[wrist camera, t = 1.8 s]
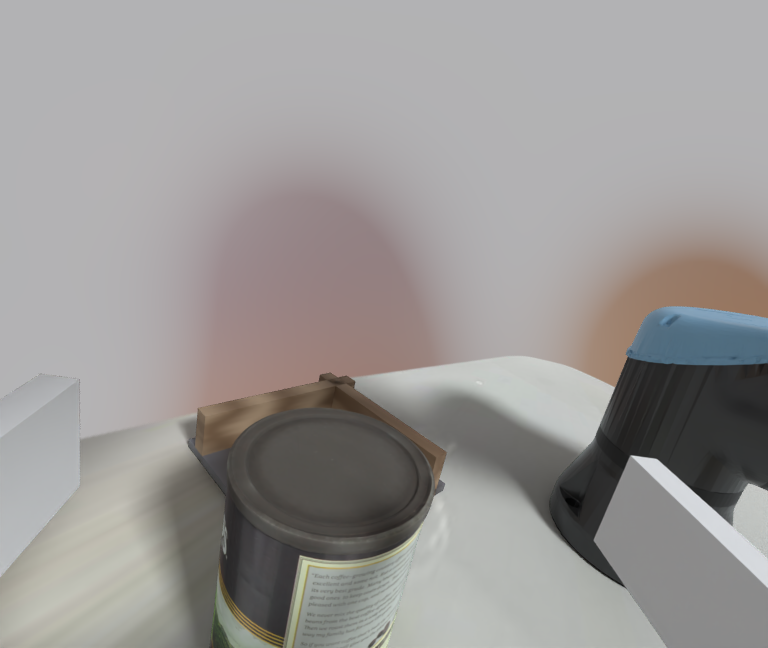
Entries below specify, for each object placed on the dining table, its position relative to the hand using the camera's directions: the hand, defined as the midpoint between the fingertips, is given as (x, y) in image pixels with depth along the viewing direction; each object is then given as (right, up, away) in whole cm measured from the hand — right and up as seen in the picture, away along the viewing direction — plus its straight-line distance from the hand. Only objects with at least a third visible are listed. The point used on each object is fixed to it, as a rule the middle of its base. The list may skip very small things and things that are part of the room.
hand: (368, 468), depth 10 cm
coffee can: (-5, -17, +16) cm, 23 cm away
